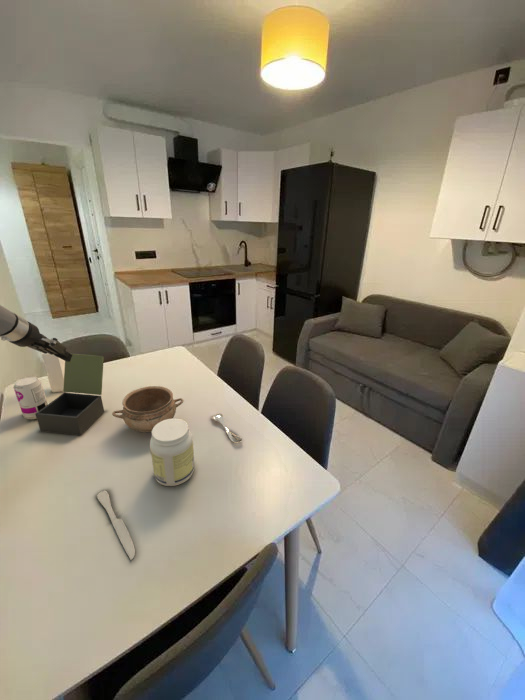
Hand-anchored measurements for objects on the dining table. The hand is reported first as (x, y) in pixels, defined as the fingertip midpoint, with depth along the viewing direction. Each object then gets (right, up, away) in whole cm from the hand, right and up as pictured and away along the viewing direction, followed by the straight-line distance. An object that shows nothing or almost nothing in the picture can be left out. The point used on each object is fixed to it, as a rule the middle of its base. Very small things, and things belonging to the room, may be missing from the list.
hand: (69, 358), depth 107 cm
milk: (-20, -15, +25) cm, 36 cm away
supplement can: (-18, -23, +8) cm, 30 cm away
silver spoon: (+58, -28, +4) cm, 64 cm away
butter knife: (+33, -42, -31) cm, 62 cm away
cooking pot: (+29, -26, +5) cm, 39 cm away
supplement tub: (+44, -36, -16) cm, 59 cm away
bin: (-1, -24, +5) cm, 25 cm away
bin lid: (0, -7, +8) cm, 10 cm away
